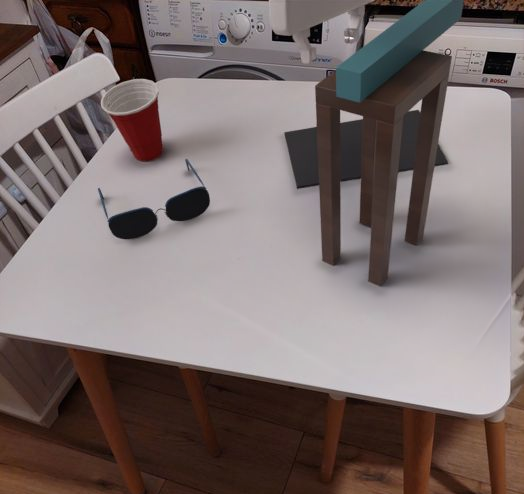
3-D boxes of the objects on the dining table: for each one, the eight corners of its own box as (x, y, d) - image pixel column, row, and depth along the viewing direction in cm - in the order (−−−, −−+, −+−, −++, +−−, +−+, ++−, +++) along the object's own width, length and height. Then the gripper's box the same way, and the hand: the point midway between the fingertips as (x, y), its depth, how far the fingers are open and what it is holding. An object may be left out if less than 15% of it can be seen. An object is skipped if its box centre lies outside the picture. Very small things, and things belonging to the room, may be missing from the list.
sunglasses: (117, 245, 85) (105, 219, 81) (105, 207, 95) (94, 182, 92) (214, 211, 87) (206, 185, 84) (192, 178, 97) (185, 153, 94)
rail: (438, 15, 63) (441, -13, 61) (461, 18, 62) (465, -10, 60) (336, 96, 54) (335, 67, 52) (360, 103, 53) (361, 73, 51)
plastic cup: (111, 166, 100) (87, 106, 91) (139, 136, 106) (119, 76, 96) (158, 173, 96) (138, 111, 87) (185, 141, 102) (168, 80, 93)
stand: (366, 216, 82) (374, 40, 61) (423, 238, 77) (452, 55, 57) (322, 260, 77) (314, 85, 56) (380, 286, 72) (395, 106, 52)
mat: (418, 111, 98) (418, 109, 98) (447, 163, 87) (448, 161, 87) (284, 134, 99) (284, 132, 99) (297, 188, 88) (296, 186, 88)
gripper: (285, -48, 61) (296, 77, 71) (393, -83, 69) (390, 33, 79) (250, -47, 65) (266, 71, 74) (357, -81, 73) (358, 30, 83)
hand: (331, 51), depth 77 cm, fingers open, 8 cm apart
